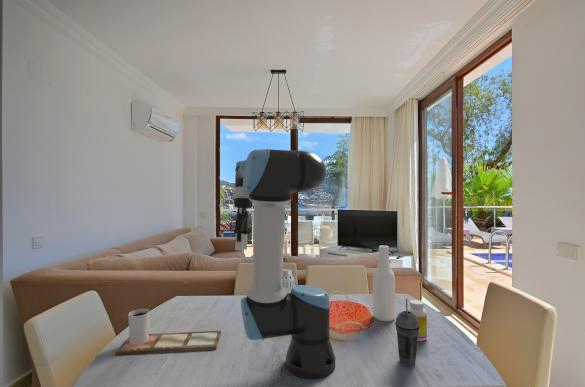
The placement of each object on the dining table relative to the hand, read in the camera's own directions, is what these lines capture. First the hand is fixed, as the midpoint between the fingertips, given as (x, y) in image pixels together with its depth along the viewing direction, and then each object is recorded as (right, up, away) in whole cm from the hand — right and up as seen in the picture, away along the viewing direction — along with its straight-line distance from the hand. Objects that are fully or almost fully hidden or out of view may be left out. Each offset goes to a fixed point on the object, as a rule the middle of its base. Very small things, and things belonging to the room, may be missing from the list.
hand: (241, 250), depth 126 cm
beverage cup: (+56, -29, -30) cm, 70 cm away
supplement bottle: (+66, -29, -14) cm, 73 cm away
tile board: (-21, -29, -18) cm, 40 cm away
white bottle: (+59, -29, +3) cm, 66 cm away
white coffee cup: (-32, -28, -19) cm, 47 cm away
